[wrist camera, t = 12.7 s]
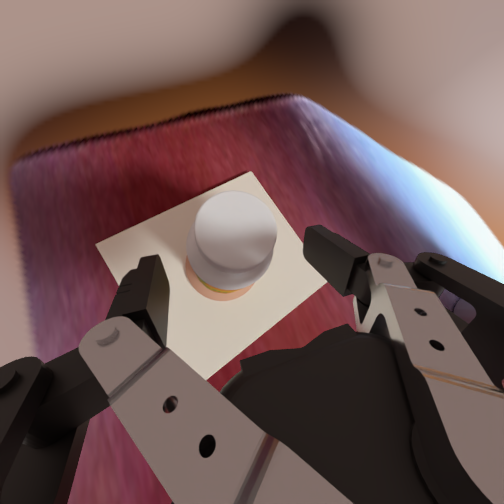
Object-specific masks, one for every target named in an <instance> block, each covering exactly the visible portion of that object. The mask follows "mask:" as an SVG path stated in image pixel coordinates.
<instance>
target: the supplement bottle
mask: <svg viewBox="0 0 504 504" xmlns="http://www.w3.org/2000/svg"><path fill="white" fill-rule="evenodd" d="M276 239H277V225H276V221H275V218H274V216H273V214H272V212H271V210H270V209H269V207H268V206H267V205H266V204H265V203H264V202H263V201H262V200H260V199H259V198H257V197H256V196H254V195H252V194H250V193H247V192H243V191H236V190H231V191H224V192H220V193H218V194H215V195H213V196H212V197H210V198H209V199H207V200H206V201H205V202H204V203H203V204H202V206H201V207H200V209H199V210H198V212H197V214H196V217H195V221H194V222H193V224H192V226H191V228H190V230H189V233H188V236H187V241H186V251H187V256H188V260H189V262H190V265H191V267H192V269H193V270H194V272H195V273H196V275H197V277H198V279H199V280H200V282H201V283H202V284H203V285H204V286H205V287H206V288H208V289H209V290H211V291H213V292H216V293H222V294H227V293H232V292H235V291H238V290H240V289H242V288H245V287H247V286H249V285H251V284H253V283H255V282H256V281H257V280H259V279H260V278H261V277H262V276H263V275H264V273H265V272H266V271H267V269H268V268H269V265H270V263H271V260H272V257H273V250H274V246H275V243H276Z"/></svg>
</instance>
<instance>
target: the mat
mask: <svg viewBox="0 0 504 504" xmlns="http://www.w3.org/2000/svg"><path fill="white" fill-rule="evenodd" d="M231 190H236V191H243V192H247V193H250V194H252V195H254V196H256V197H257V198H259V199H260V200H262V201H263V202H264V203H265V204H266V205H267V206H268V207H269V209H270V210H271V212H272V214H273V216H274V218H275V221H276V225H277V239H276V243H275V246H274V250H273V257H272V260H271V263H270V265H269V268H268V269H267V271H266V272H265V273H264V275H263V276H262V277H261V278H260V279H259V280H257V281H256V282H255V283H254V285H253V286H252V287H251V289H250V290H249V291H248V292H246V293H245V294H244V295H242V296H241V297H238V298H236V299H233V300H229V301H215V300H211V299H209V298H206V297H204V296H203V295H201V294H200V293H198V292H197V291H196V290H195V289H194V288H193V286H192V285H191V283H190V281H189V280H188V277H187V274H186V267H185V263H186V256H187V251H186V241H187V236H188V233H189V230H190V228H191V226H192V224H193V222H194V221H195V217H196V214H197V212H198V210H199V209H200V207H201V206H202V204H203V203H204V202H205V201H206V200H207V199H209V198H210V197H212V196H213V195H215V194H218V193H220V192H224V191H231ZM95 245H96V247H97V248H98V250H99V252H100V254H101V255H102V257H103V259H104V260H105V262H106V264H107V266H108V267H109V269H110V271H111V273H112V274H113V276H114V278H115V280H116V281H117V283H118V285H120V283H121V280H122V278H123V277H124V276H125V275H126V274H127V273H128V272H129V271H130V270H132V269H137V267H138V264H139V260H140V258H141V257H145V256H150V255H156V254H158V255H159V256H160V258H161V261H162V263H163V266H164V269H165V272H166V275H167V278H168V281H169V285H170V298H169V313H168V328H167V343H166V347H168V348H169V349H171V350H172V351H173V352H174V353H175V354H176V355H178V356H179V357H180V358H181V359H182V360H183V361H184V362H185V363H187V364H188V365H189V366H190V367H191V368H192V369H193V370H195V371H196V372H197V373H198V374H199V375H200V376H201V377H202V378H204V379H205V380H207V379H208V378H209V377H210V376H212V375H213V374H214V373H215V372H217V371H218V370H219V369H220V368H222V367H223V366H224V365H225V364H227V363H228V362H229V361H230V360H231V359H233V358H234V357H235V356H236V355H238V354H239V353H240V352H241V351H243V350H244V349H245V348H246V347H247V346H249V345H250V344H251V343H252V342H254V341H255V340H256V339H257V338H259V337H260V336H261V335H262V334H264V333H265V332H266V331H267V330H268V329H270V328H271V327H272V326H273V325H275V324H276V323H277V322H278V321H280V320H281V319H282V318H283V317H284V316H286V315H287V314H288V313H289V312H291V311H292V310H293V309H294V308H296V307H297V306H298V305H299V304H301V303H302V302H303V301H304V300H305V299H307V298H308V297H309V296H310V295H312V294H313V293H314V292H315V291H317V290H318V289H319V288H320V287H322V286H323V285H324V284H325V283H326V282H328V281H327V280H326V279H324V278H323V277H322V276H321V275H320V274H319V273H318V272H317V271H316V270H315V269H314V268H313V267H312V266H311V265H310V264H309V263H308V262H307V261H306V260H305V258H304V256H303V243H302V242H301V240H300V239H299V238H298V236H297V235H296V233H295V232H294V231H293V229H292V228H291V226H290V225H289V224H288V222H287V221H286V219H285V218H284V217H283V215H282V214H281V212H280V211H279V209H278V208H277V207H276V205H275V204H274V202H273V201H272V200H271V198H270V197H269V195H268V194H267V193H266V191H265V190H264V188H263V187H262V186H261V184H260V183H259V181H258V180H257V179H256V177H255V176H254V174H253V173H252V172H251V171H250V172H248V173H246V174H244V175H242V176H240V177H238V178H235V179H233V180H231V181H229V182H227V183H225V184H223V185H220V186H218V187H216V188H214V189H212V190H210V191H208V192H206V193H203V194H201V195H199V196H197V197H195V198H193V199H191V200H189V201H186V202H184V203H182V204H180V205H178V206H176V207H174V208H171V209H169V210H167V211H165V212H163V213H161V214H159V215H157V216H154V217H152V218H150V219H148V220H146V221H144V222H142V223H139V224H137V225H135V226H133V227H131V228H129V229H127V230H125V231H122V232H120V233H118V234H116V235H114V236H112V237H110V238H107V239H105V240H103V241H101V242H99V243H97V244H95Z"/></svg>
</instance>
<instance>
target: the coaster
mask: <svg viewBox="0 0 504 504" xmlns="http://www.w3.org/2000/svg"><path fill="white" fill-rule="evenodd" d="M185 267H186V274H187V277H188V280H189V281H190V283H191V285H192V286H193V288H194V289H195V290H196V291H197V292H198V293H200V294H201V295H203V296H204V297H206V298H209V299H211V300H215V301H229V300H233V299H236V298H238V297H241V296H242V295H244V294H245V293H246V292H248V291H249V290H250V289H251V287H252V286H253V285H254V283H253V284H251V285H249V286H247V287H245V288H242V289H240V290H238V291H235V292H232V293H227V294H222V293H216V292H213V291H211V290H209V289H208V288H206V287H205V286H204V285H203V284H202V283H201V282H200V280H199V279H198V277H197V275H196V273H195V272H194V270H193V269H192V267H191V265H190V262H189V260H188V256H186V263H185Z"/></svg>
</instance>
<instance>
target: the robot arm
mask: <svg viewBox="0 0 504 504" xmlns="http://www.w3.org/2000/svg"><path fill="white" fill-rule="evenodd" d="M303 256H304V258H305V260H306V261H307V262H308V263H309V264H310V265H311V266H312V267H313V268H314V269H315V270H316V271H317V272H318V273H319V274H320V275H321V276H322V277H323V278H324V279H326V280H327V281H328V282H329V283H330V284H331V285H332V286H333V287H334V288H335V289H336V290H337V291H338V292H339V293H340V294H341V295H342V296H343V297H344V296H347V295H351V294H354V295H355V296H354V299H353V305H354V313H355V320H356V328H357V332H355V331H354V330H353V329H352V328H351V327H350V326H349V324H345V325H342V326H339V327H336V328H333V329H330V330H327V331H324V332H323V333H322V334H320V335H319V336H318V337H316V338H315V339H314V340H312V341H311V342H310V343H308V344H307V345H306V346H304V347H302V348H296V349H282V350H269V351H266V352H263V353H261V354H258V355H255V356H252V357H249V358H246V359H243V360H240V365H241V371H240V372H239V373H237V374H236V375H235V376H234V377H232V378H231V379H230V380H229V381H228V382H227V384H226V385H225V386H224V387H223V388H222V390H221V391H220V393H219V392H218V391H217V390H216V389H215V388H214V387H213V386H211V385H210V384H209V383H208V382H207V381H206V380H205V379H204V378H202V377H201V376H200V375H199V374H198V373H197V372H196V371H195V370H193V369H192V368H191V367H190V366H189V365H188V364H187V363H185V362H184V361H183V360H182V359H181V358H180V357H179V356H178V355H176V354H175V353H174V352H173V351H172V350H171V349H169V348H168V347H166V343H167V328H168V313H169V298H170V285H169V281H168V278H167V275H166V272H165V269H164V266H163V263H162V261H161V258H160V256H159V255H158V254H156V255H150V256H145V257H141V258H140V260H139V264H138V267H137V269H132V270H130V271H129V272H128V273H127V274H126V275H125V276H124V277H123V278H122V280H121V283H120V285H119V288H118V290H117V295H115V297H114V300H113V302H112V305H111V307H110V310H109V312H108V315H107V317H106V319H105V321H103V322H101V323H99V324H97V325H96V326H95V327H93V328H92V329H91V330H90V331H89V332H88V333H87V334H86V335H85V336H84V337H83V339H82V340H81V342H80V344H79V347H78V348H76V349H74V350H72V351H70V352H68V353H66V354H64V355H62V356H60V357H58V358H55V359H53V360H51V361H49V362H47V363H45V364H44V363H43V362H42V361H41V360H40V359H38V358H37V357H25V358H21V359H18V360H15V361H12V362H10V363H8V364H6V365H4V366H2V367H0V504H67V502H68V499H69V495H70V491H71V487H72V484H73V480H74V476H75V472H76V469H77V465H78V461H79V457H80V454H81V450H82V446H83V442H84V439H85V435H86V431H87V427H88V424H89V420H90V418H92V417H93V416H95V415H96V414H98V413H100V412H101V411H103V410H104V409H106V408H107V407H109V406H111V407H112V409H113V410H114V412H115V413H116V415H117V416H118V418H119V420H120V421H121V423H122V424H123V426H124V427H125V429H126V430H127V432H128V433H129V435H130V436H131V438H132V439H133V441H134V443H135V444H136V446H137V447H138V449H139V450H140V452H141V453H142V455H143V456H144V458H145V459H146V461H147V462H148V464H149V466H150V467H151V469H152V470H153V472H154V473H155V475H156V476H157V478H158V479H159V481H160V482H161V484H162V485H163V487H164V489H165V490H166V492H167V493H168V495H169V496H170V498H171V499H172V503H171V504H504V284H502V283H500V282H498V281H496V280H494V279H492V278H490V277H488V276H486V275H484V274H481V273H479V272H477V271H475V270H473V269H471V268H469V267H467V266H465V265H463V264H461V263H459V262H457V261H455V260H452V259H450V258H448V257H446V256H443V255H440V254H436V253H429V252H424V253H420V254H418V256H417V258H416V260H415V262H408V263H403V262H402V261H401V260H400V259H398V258H396V257H394V256H392V255H388V254H384V253H373V254H369V253H368V252H366V251H364V250H363V249H361V248H359V247H358V246H356V245H355V244H353V243H351V242H350V241H348V240H347V239H345V238H343V237H342V236H340V235H339V234H336V233H333V232H331V231H330V230H328V229H327V228H325V227H323V226H322V225H315V226H309V227H307V228H306V230H305V236H304V244H303ZM444 289H447V290H448V291H450V292H452V293H453V294H455V295H456V296H458V297H460V298H461V299H460V300H459V301H458V302H457V304H456V306H455V308H454V312H451V311H450V310H448V309H447V308H445V307H444V306H443V304H442V303H441V301H440V300H439V296H440V295H441V294H442V292H443V291H444Z"/></svg>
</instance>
